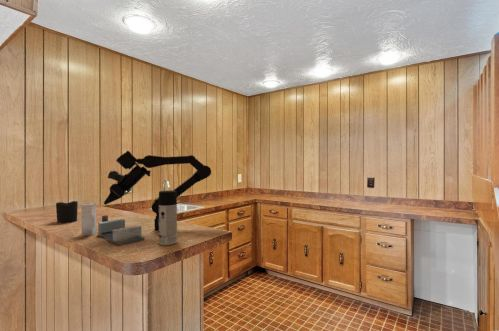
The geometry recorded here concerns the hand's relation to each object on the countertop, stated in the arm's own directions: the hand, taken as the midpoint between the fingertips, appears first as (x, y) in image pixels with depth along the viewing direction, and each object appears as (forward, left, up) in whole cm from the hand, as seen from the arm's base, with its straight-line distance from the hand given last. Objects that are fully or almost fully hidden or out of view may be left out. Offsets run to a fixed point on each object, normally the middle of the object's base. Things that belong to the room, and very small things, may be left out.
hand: (107, 202), depth 117 cm
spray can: (-31, +17, -14) cm, 38 cm away
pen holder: (+32, -23, -14) cm, 42 cm away
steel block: (+7, +2, -13) cm, 15 cm away
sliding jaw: (0, -2, -12) cm, 12 cm away
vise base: (-9, +8, -13) cm, 18 cm away
